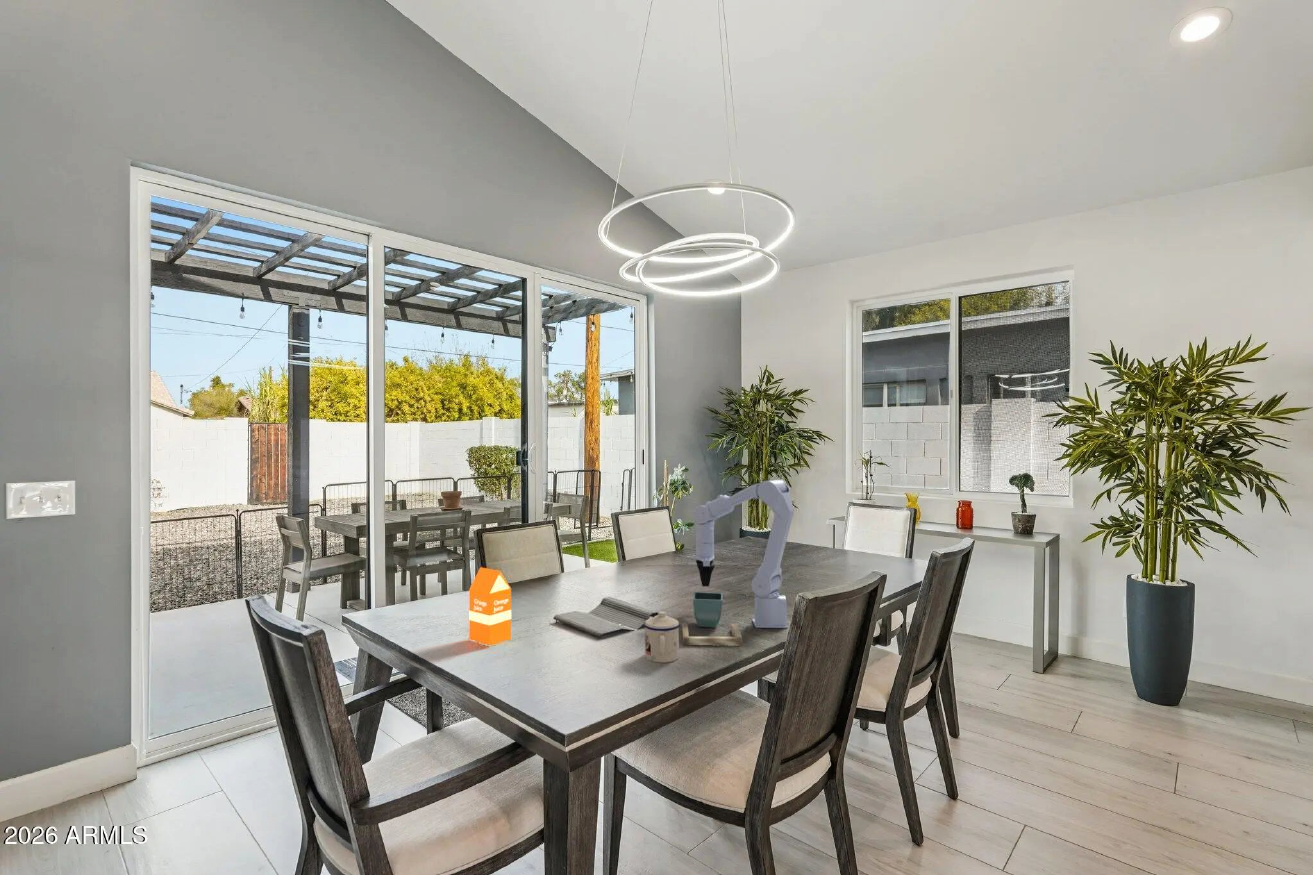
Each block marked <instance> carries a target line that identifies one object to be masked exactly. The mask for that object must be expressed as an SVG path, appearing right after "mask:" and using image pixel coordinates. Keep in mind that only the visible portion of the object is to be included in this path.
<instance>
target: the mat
mask: <svg viewBox="0 0 1313 875" xmlns="http://www.w3.org/2000/svg"><path fill="white" fill-rule="evenodd" d="M658 613H659V612H658V611H656V610H653V609H650V608H646V607H643V606H641V605H637V604H634V603H630V602H628V601H625V600H621V599H618V598H615V597H612V596H606V597H603V598H602V599H601V601H600V603H599V604H598V605H597V606H596V607H595V608H593V609H592V610H591V611H589V612H583V611H576V610H575V611H574V610H573V611H569V612H564V613H563V612H562V613H559V614H555V615H554V616H553V620H555V622H556V624H558V622H560V623H563V624H565V625H568V626H570V627H571V628H575V629H577V630H580V631H581V632H583V633H586V634H589V635H591V636H594V637H596V638H597V639H598V640H599V638H600V639H601V637H602V636H604V635H608V634H611V633H615V632H619V631H623V630H624V631H632V632H634V631H637V630H639V629H641V627H643V626H644V624H645V621H646V620H648V619H650V617H651V618H653V617H655V616H657V615H658ZM619 624H621V625H619ZM625 626H626V627H625ZM632 628H633V629H632ZM636 629H637V630H636Z"/></svg>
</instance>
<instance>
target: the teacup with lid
mask: <svg viewBox="0 0 1313 875" xmlns="http://www.w3.org/2000/svg"><path fill="white" fill-rule="evenodd" d="M643 626H644V628H645V629H644V640H645V641H644V656H645V659H646V660H648V661H650V662H653V663H661V664H665V663H666V664H667V663H672V662H675V661H676V660H678V659H679V627H680V622H679V621H678V620H677V619H676V618H673V617H670V616H669V615H667V613H666V612H665V611H659V612H658V615H657V616H655V617H651V618H649V619H648V620H646V621H645V624H644V625H643Z"/></svg>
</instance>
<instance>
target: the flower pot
mask: <svg viewBox="0 0 1313 875" xmlns="http://www.w3.org/2000/svg"><path fill="white" fill-rule="evenodd" d="M723 599H724V598H723V593H722V592H705V591H703V592H701V591H698V592H697V591H695V592H694V593H693V598H692V603H693V615H694V618H695V622H696V624H697V626H698V627H700V628H712V629H713V628H717V626H718V625H719V622H720V620H721V616H722V609H723V602H724V601H723Z"/></svg>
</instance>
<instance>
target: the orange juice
mask: <svg viewBox="0 0 1313 875" xmlns="http://www.w3.org/2000/svg"><path fill="white" fill-rule="evenodd" d="M468 592H469V598H468V599H469V600H468V601H469V602H468V604H469V608H468V610H469V611H468V614H469V616H468V621H469V624H468V626H469V633H468V634H469V638H468V639H471V640H475V641H477V642H481V643H483V644H487V645H493V644H497V643H499V642H503V641H506V640H510V639H511V640H512V588H511V586H510V585H509V583H508V582H507V579H506V578H505V577H504V575H503V574H502V572H501V570H497V569H491V568H486V567H479V569H478V572H477V573H476V575H475V577H474V579H473V581H472V584H471V585H470V588H469V591H468ZM511 640H510V641H511Z"/></svg>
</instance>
